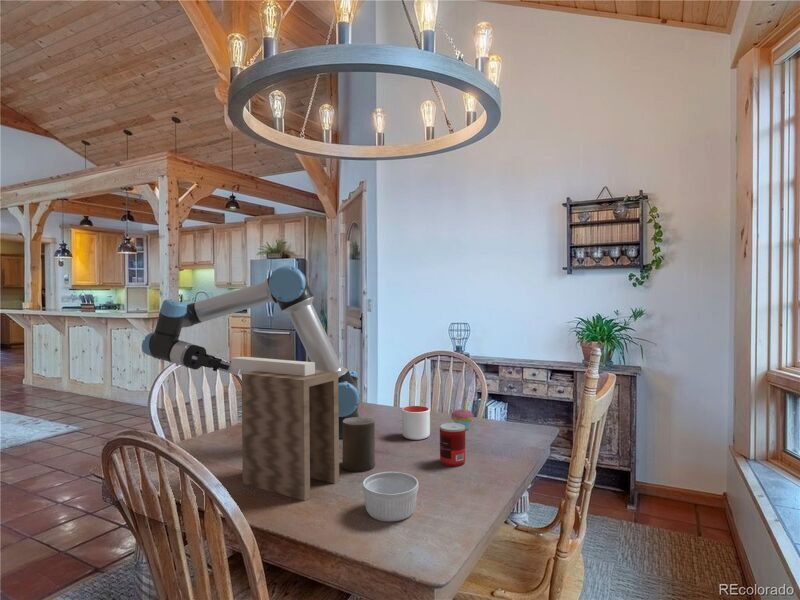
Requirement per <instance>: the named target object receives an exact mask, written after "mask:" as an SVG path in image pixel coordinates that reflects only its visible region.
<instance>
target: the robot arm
mask: <svg viewBox="0 0 800 600" xmlns="http://www.w3.org/2000/svg"><path fill="white" fill-rule="evenodd" d="M308 283H309V282H308V279H307V276H306V275H305V274H304V273H303V271H301V270H300V269H299V268H298V267H296V266H294V265H283V266H281V267H278V268H277V269H274V271H273V272H272V273H271V275H270V277H268V278H266V280H264V282H263V281H262V282H260V283H257V284H256V283H255V284H254V285H249V286H247V287H243V288H240V289H236V290H233V291H229V292H226V293H222V294H219V295H216V296H212V297H209V298H206V299H203V300H199V301H195V302H191V303H187V304H186V303H185V302H182V301H178V300H174V299H169V298H168V299H164V300H163V301H162V304H161V305H160V308H159V313H158V318H157V321H156V325H155V329H154V332H150V333H148V334H147V335H145V337H144V339H143V340H142V341H141V342H142V343H141V350H142V352H143V354H145V355H147V356H150V357H153V358H154V359H158V360H162V361H164V362H169V363H172V364H175V367H179V366H182V367H186V368H188V369H192V370H199V369H201V367H203V368H209V369H211V368H212V371H213V372H217V371H221V372H224V373H228V374H231V375H233V376H234V375H235V376H240V375H241V376H242V373H247V372H252V370H242V369H232V368H231V362H228V361H224V360H223V359H222V358H218V357H215V355H212V354H211V355H210V354H207V349H206V348H205V347H203V346H201V345H197V344H194V343H191V342H188V341H184V340H179V338H180V335H181V332H182V328H189V327H193V326H194V325H197V324H201V323H205V322H207V321H211V320H215V319H218V318H221V317H224V316H225V317H226V316H227V315H231V314H234V313H238V312H241V311H245V310H248V309H252V308H256V307H259V306H262V305H264V304H268V303H272V304H274V305H275V304H278V306H279V308H280V311H281V312H282V313H284V314H287V315H288V316H289V318H290V320H291V321H290V322H291V323H292V324H293V327H294V329H295V331H296V333H297V335H298V338H299V339H300V341H301V343H302V345H303V348H304V350H305V352H306V354H307V356H308V359H309V360H310V361H309V362H315V370H322V371H333V372H338V405H339V440H343V420H345V419H347V418H352V417H358V416H359V417H360V414H359V411H358V410H359V409H358V406H359V403H360V399H361V396H360V392H359V388H358V379H359V377H358V373H357V371H355V370H349V369H348V368H346V367H343V366H342V364H341V362H340V360H339V358H338V355H337V353H336V352H335V349H334V348H333V345H332V343H331V342H330V339H329V337H328V334H327V333H326V330H325V328H324V326H323V324H322V321H321V320H320V318H319V315H318V313H317V310H316V309H315V307H314V304H313V301H314V298H315V297H314V294H313V292H312V291H311V288H310V286H309V284H308Z"/></svg>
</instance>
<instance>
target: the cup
mask: <svg viewBox="0 0 800 600" xmlns="http://www.w3.org/2000/svg"><path fill="white" fill-rule="evenodd" d="M401 433H402V436H403V437H404V438H406V439H408V440H412V441H413V440H414V441H417V440H419V441H420V440H425V439H427V438H429V437H430V435H431V409H430V407H427V406H424V405H409V406H405V407H402V408H401Z"/></svg>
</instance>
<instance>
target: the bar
mask: <svg viewBox="0 0 800 600" xmlns="http://www.w3.org/2000/svg"><path fill="white" fill-rule="evenodd" d="M230 363H231V368H232V369H242V370H252V371H262V372H272V373H282V374H291V375H301V376H306V375H311V374H315V362H311V361H301V360H287V359H277V358H276V359H275V358H263V357H251V356H236V357H230Z"/></svg>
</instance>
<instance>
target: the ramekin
mask: <svg viewBox="0 0 800 600" xmlns="http://www.w3.org/2000/svg"><path fill="white" fill-rule="evenodd" d="M362 491H363V496H364V497H363V498H364V505H365V509H366V512H367V513H368V514H369V515H370V517H372V518H373V519H375V520H378V521H381V522H393V523H394V522H399V521H403V520H405V519H408V518H410V517H411V516H412V515H413V513H414V512H415V510H416V506H417V498H418V491H419V481H418V479H417V478H416V477H415V476H414V475H412V474H409V473H406V472H401V471H383V472H377V473H374V474H371V475H369V476H367V477H366V478H365V479H363V481H362Z"/></svg>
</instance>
